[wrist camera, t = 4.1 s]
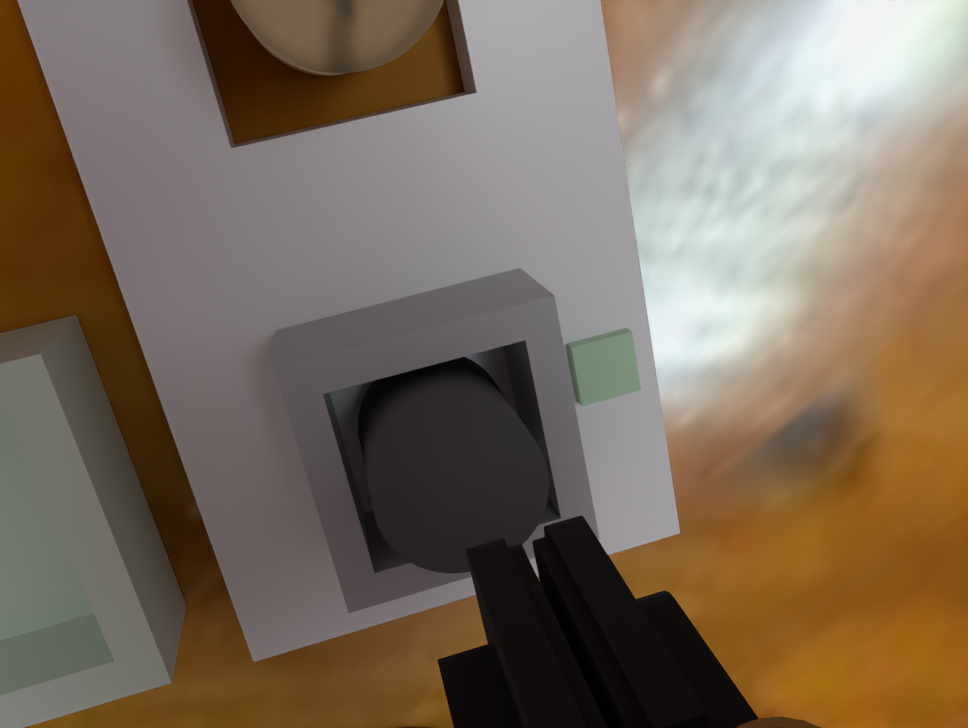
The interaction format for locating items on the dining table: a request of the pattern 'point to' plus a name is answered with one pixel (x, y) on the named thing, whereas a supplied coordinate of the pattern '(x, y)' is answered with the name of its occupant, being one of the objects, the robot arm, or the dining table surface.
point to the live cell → (337, 31)
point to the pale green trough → (74, 540)
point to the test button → (449, 464)
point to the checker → (367, 288)
